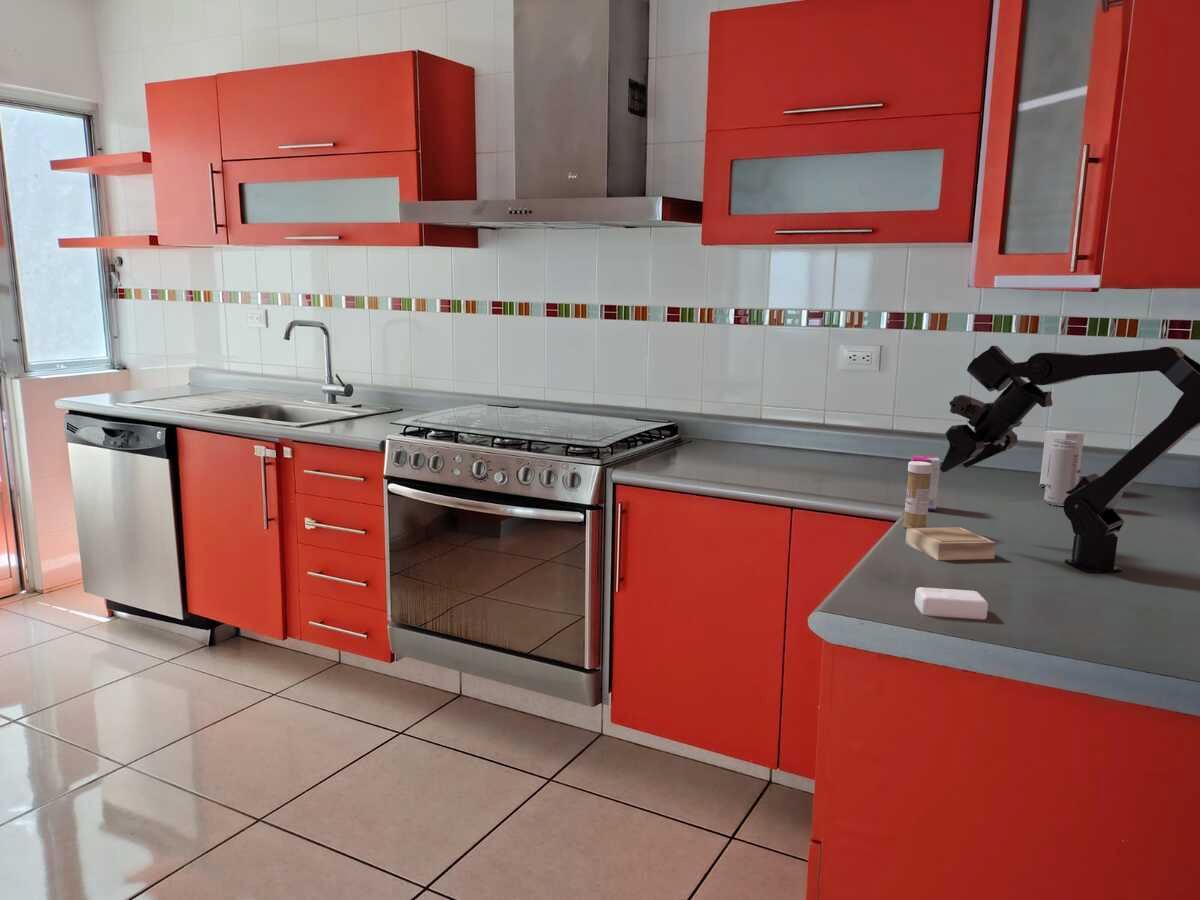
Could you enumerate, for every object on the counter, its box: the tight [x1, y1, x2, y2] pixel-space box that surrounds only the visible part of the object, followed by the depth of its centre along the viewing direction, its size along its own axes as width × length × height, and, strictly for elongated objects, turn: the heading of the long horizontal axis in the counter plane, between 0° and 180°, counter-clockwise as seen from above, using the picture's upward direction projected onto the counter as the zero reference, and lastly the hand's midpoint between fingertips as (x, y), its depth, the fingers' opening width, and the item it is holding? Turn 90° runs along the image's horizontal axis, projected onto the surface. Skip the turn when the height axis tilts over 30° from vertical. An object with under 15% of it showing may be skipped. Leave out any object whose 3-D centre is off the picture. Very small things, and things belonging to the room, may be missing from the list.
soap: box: [914, 586, 989, 620], centre depth 129 cm, size 9×6×3 cm, turn 83°
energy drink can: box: [1043, 439, 1079, 504], centre depth 207 cm, size 6×6×15 cm
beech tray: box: [904, 526, 997, 561], centre depth 162 cm, size 11×11×3 cm
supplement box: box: [910, 455, 941, 512], centre depth 199 cm, size 6×6×12 cm
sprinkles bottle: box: [902, 460, 932, 529], centre depth 179 cm, size 5×5×14 cm
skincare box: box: [1039, 430, 1085, 485], centre depth 227 cm, size 8×6×15 cm
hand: (953, 468), depth 171 cm, fingers open, 9 cm apart
